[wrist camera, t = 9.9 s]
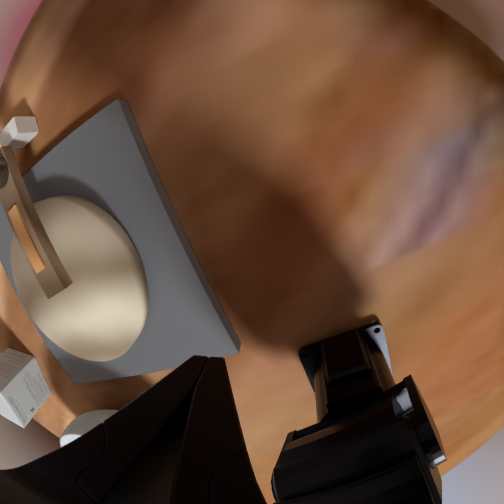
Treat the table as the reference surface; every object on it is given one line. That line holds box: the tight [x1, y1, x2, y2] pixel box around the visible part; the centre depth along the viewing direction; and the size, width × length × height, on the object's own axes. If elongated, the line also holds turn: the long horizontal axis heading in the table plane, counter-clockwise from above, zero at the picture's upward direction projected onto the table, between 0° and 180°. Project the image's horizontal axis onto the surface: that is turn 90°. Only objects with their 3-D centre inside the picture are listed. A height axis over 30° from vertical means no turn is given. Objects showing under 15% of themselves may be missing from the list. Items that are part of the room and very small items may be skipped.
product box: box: [0, 348, 52, 428], centre depth 24 cm, size 6×6×7 cm
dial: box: [0, 146, 149, 361], centre depth 16 cm, size 18×13×8 cm
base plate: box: [0, 99, 241, 384], centre depth 19 cm, size 23×19×2 cm
